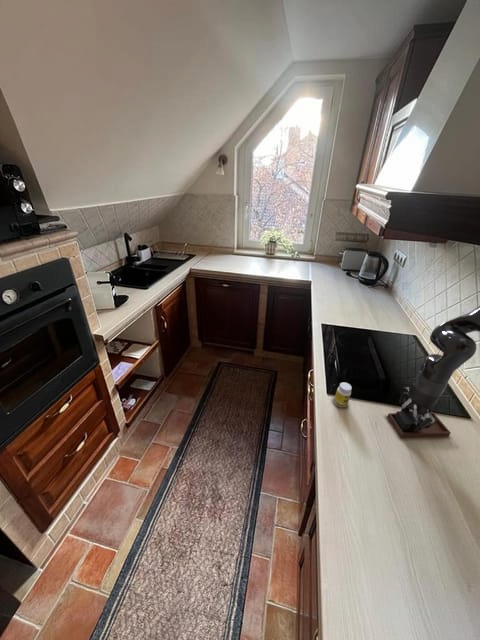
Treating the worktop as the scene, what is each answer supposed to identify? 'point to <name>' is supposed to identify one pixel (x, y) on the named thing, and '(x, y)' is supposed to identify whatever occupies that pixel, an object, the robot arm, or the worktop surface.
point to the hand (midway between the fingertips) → (407, 423)
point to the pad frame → (433, 431)
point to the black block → (405, 419)
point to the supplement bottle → (343, 394)
